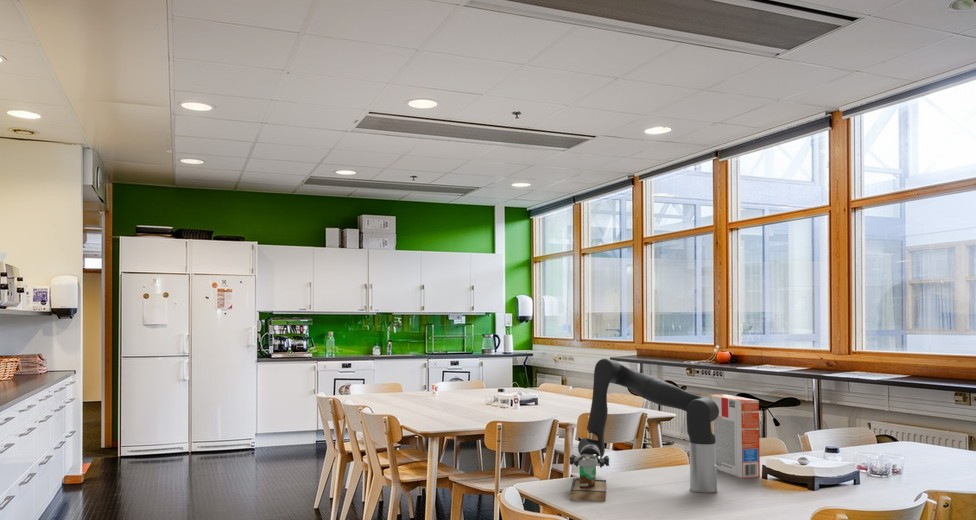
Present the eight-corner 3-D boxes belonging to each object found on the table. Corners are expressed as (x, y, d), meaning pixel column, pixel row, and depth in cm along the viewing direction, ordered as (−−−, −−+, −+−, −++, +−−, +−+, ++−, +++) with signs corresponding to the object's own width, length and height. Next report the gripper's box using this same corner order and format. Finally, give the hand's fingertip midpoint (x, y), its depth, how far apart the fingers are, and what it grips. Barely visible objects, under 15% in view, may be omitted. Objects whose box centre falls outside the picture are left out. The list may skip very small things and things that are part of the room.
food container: (597, 490, 270) (597, 461, 271) (579, 489, 271) (579, 460, 272) (598, 482, 282) (598, 454, 283) (581, 481, 284) (581, 453, 284)
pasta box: (760, 476, 307) (758, 400, 309) (742, 478, 305) (741, 401, 307) (726, 465, 329) (725, 394, 331) (709, 466, 327) (708, 394, 329)
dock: (606, 489, 284) (606, 479, 285) (605, 501, 267) (605, 491, 267) (573, 488, 286) (573, 478, 287) (570, 499, 269) (570, 489, 269)
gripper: (571, 445, 295) (568, 452, 279) (609, 446, 293) (608, 454, 277) (571, 465, 295) (568, 474, 279) (609, 466, 292) (609, 475, 276)
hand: (588, 464), depth 278 cm, fingers open, 8 cm apart
